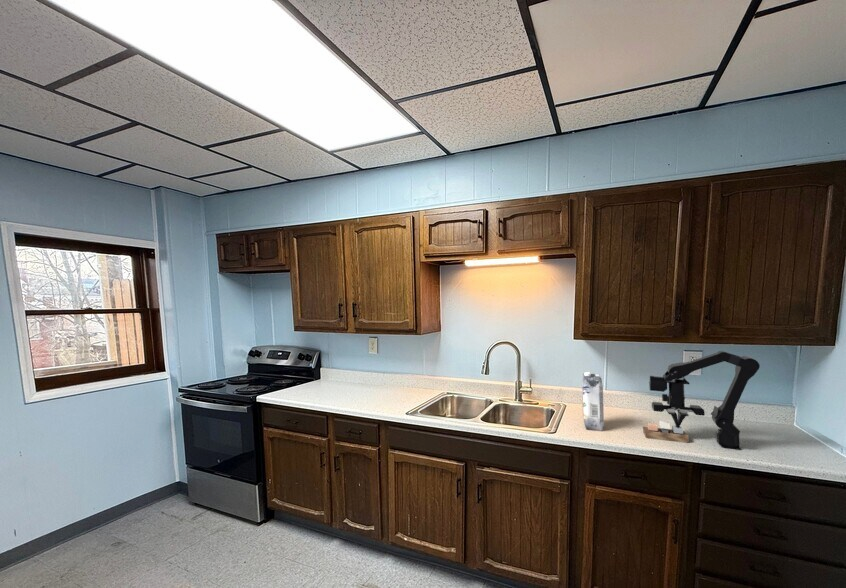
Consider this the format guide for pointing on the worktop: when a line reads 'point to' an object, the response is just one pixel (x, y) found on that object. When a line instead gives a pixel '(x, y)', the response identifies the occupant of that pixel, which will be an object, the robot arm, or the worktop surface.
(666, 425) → the key ivory
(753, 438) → the worktop surface
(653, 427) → the key terracotta
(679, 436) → the key panel
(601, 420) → the juice carton
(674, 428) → the key slate
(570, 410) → the worktop surface
